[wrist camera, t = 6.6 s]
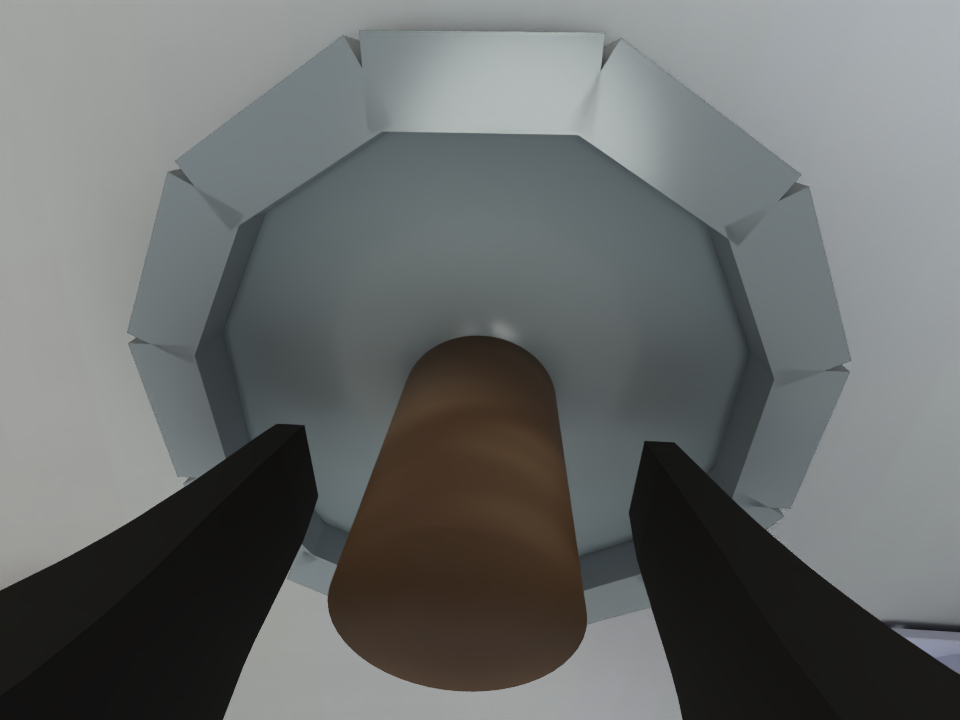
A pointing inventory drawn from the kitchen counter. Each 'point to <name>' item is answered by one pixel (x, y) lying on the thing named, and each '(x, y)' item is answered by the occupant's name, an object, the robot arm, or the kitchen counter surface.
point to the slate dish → (493, 275)
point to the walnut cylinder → (466, 529)
